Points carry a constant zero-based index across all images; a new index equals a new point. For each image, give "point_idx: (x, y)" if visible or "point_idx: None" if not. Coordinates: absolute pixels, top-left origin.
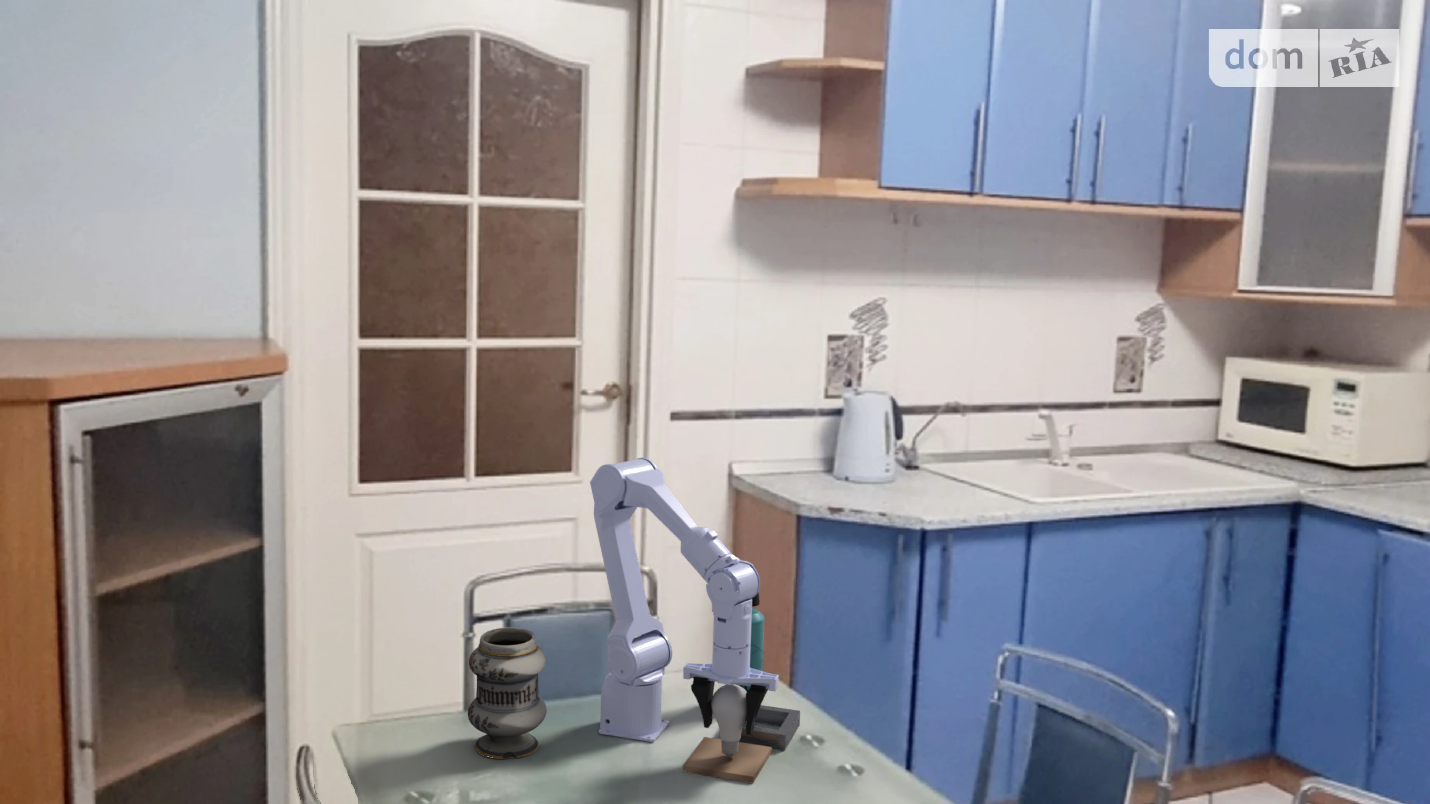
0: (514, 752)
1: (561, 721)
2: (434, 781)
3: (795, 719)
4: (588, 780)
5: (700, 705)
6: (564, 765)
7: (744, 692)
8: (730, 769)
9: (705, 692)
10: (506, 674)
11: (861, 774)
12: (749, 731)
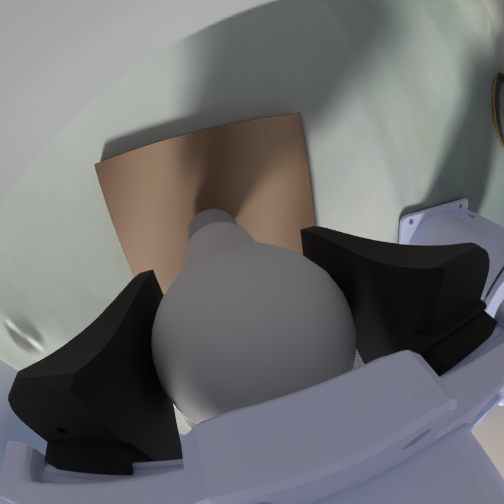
0: (501, 83)
1: (492, 211)
2: (498, 15)
3: (182, 416)
4: (416, 23)
5: (379, 244)
6: (460, 70)
7: (194, 420)
8: (169, 162)
9: (412, 272)
10: None
11: (5, 327)
12: (137, 276)
